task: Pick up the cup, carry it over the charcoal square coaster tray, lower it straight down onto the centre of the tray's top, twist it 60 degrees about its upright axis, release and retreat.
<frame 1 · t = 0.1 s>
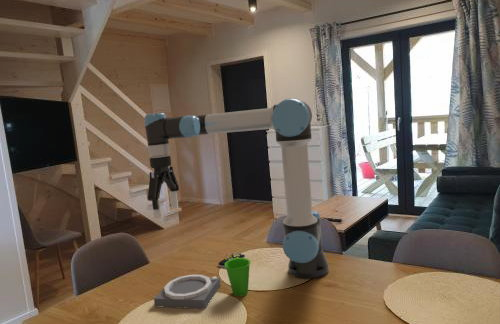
hand: (166, 212, 136), 28 cm above the table, fingers open, 13 cm apart
remote control: (232, 263, 156), on the table
cup: (240, 293, 127), on the table
square coaster tray: (189, 295, 129), on the table
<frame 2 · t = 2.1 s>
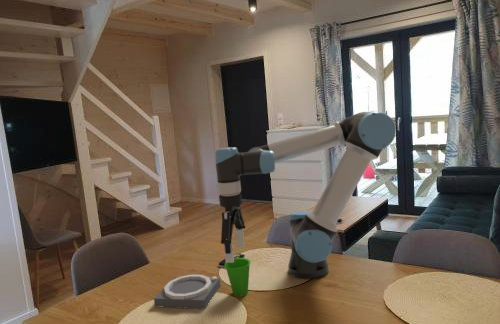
hand: (235, 254, 126), 14 cm above the table, fingers open, 13 cm apart
nothing on the table moved.
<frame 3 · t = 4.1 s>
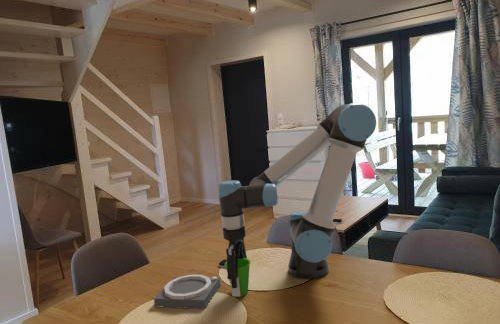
hand: (240, 289, 127), 1 cm above the table, fingers closed on cup, 9 cm apart
cup: (240, 293, 127), on the table, touching gripper
everything else where it was.
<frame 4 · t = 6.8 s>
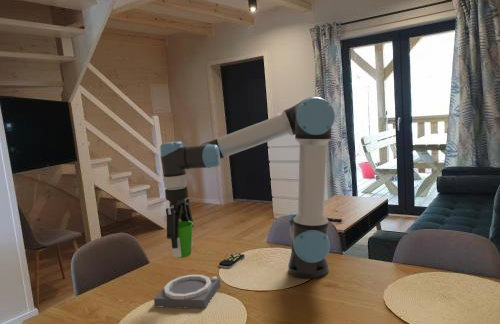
hand: (183, 251, 127), 16 cm above the table, fingers closed on cup, 9 cm apart
cup: (183, 255, 127), point 15 cm above the table, touching gripper
everything else where it was.
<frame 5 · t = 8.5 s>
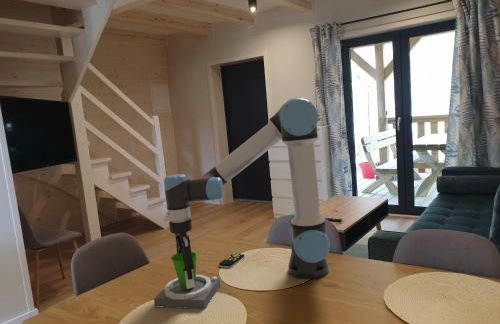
hand: (187, 281, 128), 5 cm above the table, fingers closed on cup, 9 cm apart
cup: (188, 286, 128), point 4 cm above the table, touching gripper
everything else where it was.
when the fingers open (5 cm above the table, at t = 9.8 s): cup stays where it is, resting on square coaster tray.
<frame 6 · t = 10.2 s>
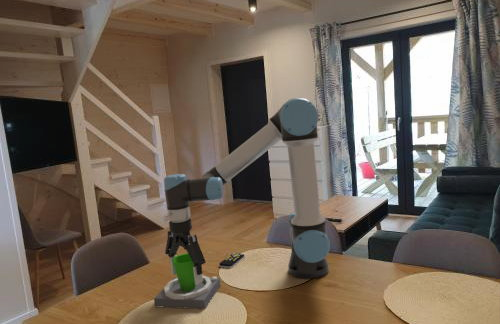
hand: (187, 278, 128), 6 cm above the table, fingers open, 13 cm apart
cup: (188, 288, 128), point 3 cm above the table, touching square coaster tray
everything else where it was.
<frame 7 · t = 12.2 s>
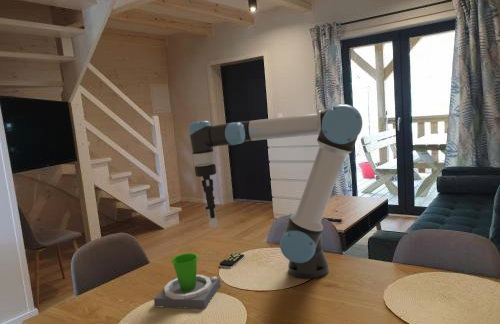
hand: (213, 221, 134), 24 cm above the table, fingers open, 13 cm apart
nothing on the table moved.
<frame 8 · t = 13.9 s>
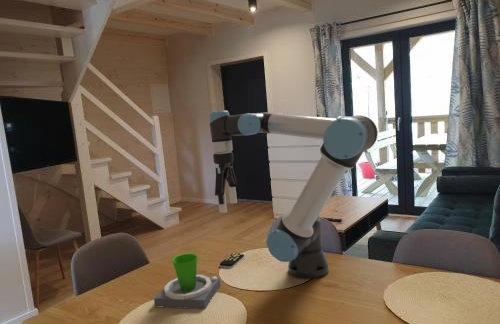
hand: (228, 207, 140), 27 cm above the table, fingers open, 13 cm apart
nothing on the table moved.
at the end: cup 0.1 cm from the square coaster tray (horizontally); cup tilted 0°; the gripper is holding nothing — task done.
